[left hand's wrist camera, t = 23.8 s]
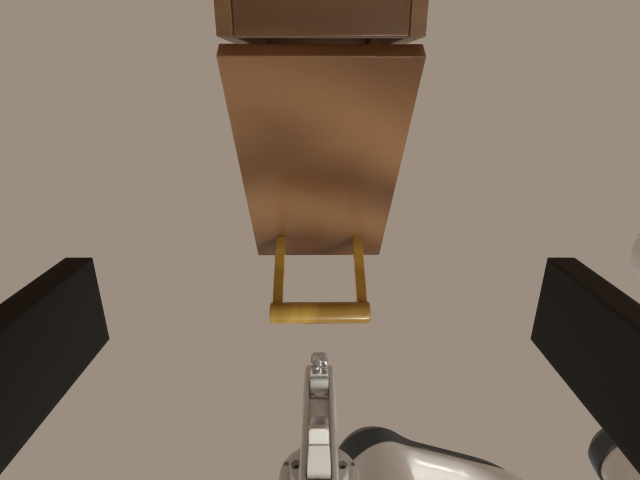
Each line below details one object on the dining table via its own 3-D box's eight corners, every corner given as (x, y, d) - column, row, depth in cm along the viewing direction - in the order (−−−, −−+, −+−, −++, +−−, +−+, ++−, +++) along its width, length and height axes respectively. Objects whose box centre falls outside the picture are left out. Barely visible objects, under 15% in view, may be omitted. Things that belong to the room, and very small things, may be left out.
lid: (378, 244, 36) (387, 335, 32) (259, 244, 36) (251, 336, 32) (423, 43, 21) (453, 163, 17) (218, 43, 21) (193, 163, 16)
